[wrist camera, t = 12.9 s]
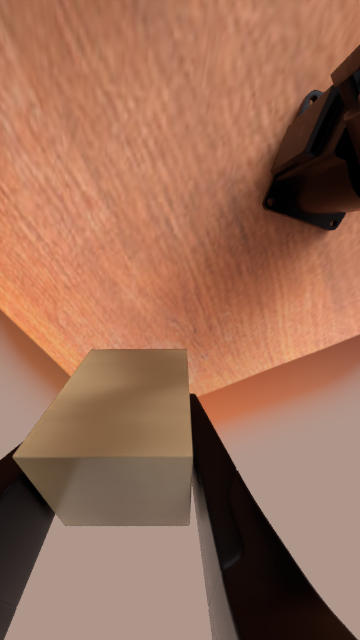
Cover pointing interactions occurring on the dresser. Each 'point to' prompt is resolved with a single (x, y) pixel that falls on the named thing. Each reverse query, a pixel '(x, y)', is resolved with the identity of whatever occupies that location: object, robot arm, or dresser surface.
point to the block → (116, 442)
